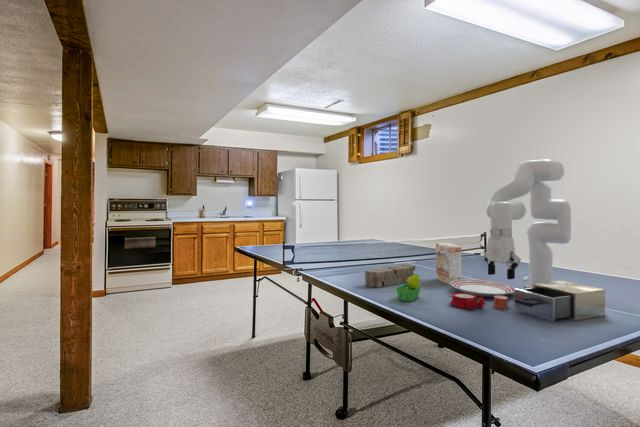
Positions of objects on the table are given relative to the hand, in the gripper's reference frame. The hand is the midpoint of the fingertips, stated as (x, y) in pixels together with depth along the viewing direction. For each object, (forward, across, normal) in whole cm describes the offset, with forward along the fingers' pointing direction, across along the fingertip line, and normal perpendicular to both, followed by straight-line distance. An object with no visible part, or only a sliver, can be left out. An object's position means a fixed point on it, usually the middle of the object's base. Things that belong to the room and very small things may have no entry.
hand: (500, 276), depth 143 cm
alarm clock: (+12, -6, -11) cm, 18 cm away
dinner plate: (+12, -21, +11) cm, 27 cm away
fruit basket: (+12, -24, -26) cm, 37 cm away
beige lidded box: (+12, +14, +18) cm, 26 cm away
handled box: (+11, +14, +5) cm, 19 cm away
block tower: (+12, -54, -17) cm, 58 cm away
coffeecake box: (+12, -45, +12) cm, 48 cm away
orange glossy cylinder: (+12, 0, 0) cm, 12 cm away
